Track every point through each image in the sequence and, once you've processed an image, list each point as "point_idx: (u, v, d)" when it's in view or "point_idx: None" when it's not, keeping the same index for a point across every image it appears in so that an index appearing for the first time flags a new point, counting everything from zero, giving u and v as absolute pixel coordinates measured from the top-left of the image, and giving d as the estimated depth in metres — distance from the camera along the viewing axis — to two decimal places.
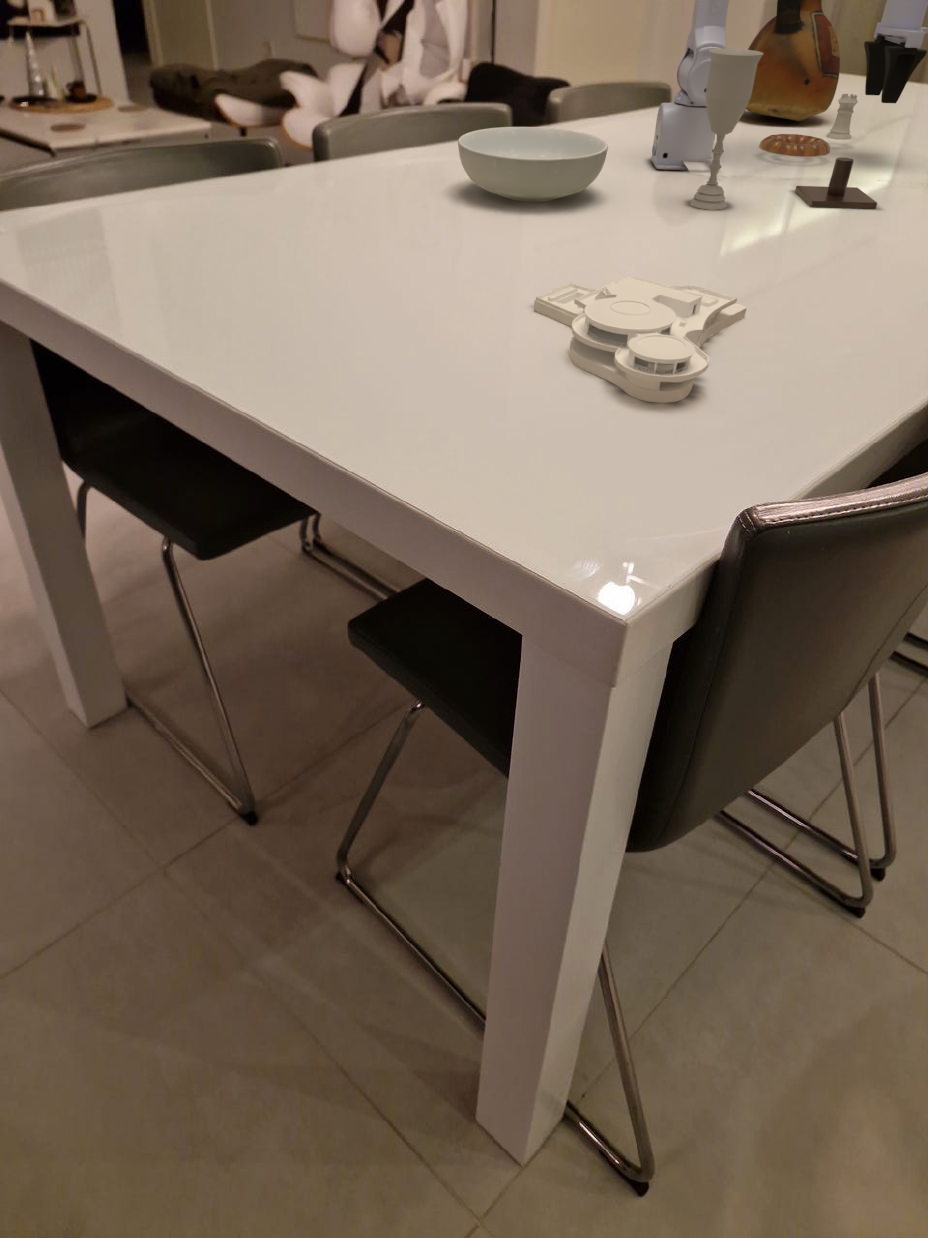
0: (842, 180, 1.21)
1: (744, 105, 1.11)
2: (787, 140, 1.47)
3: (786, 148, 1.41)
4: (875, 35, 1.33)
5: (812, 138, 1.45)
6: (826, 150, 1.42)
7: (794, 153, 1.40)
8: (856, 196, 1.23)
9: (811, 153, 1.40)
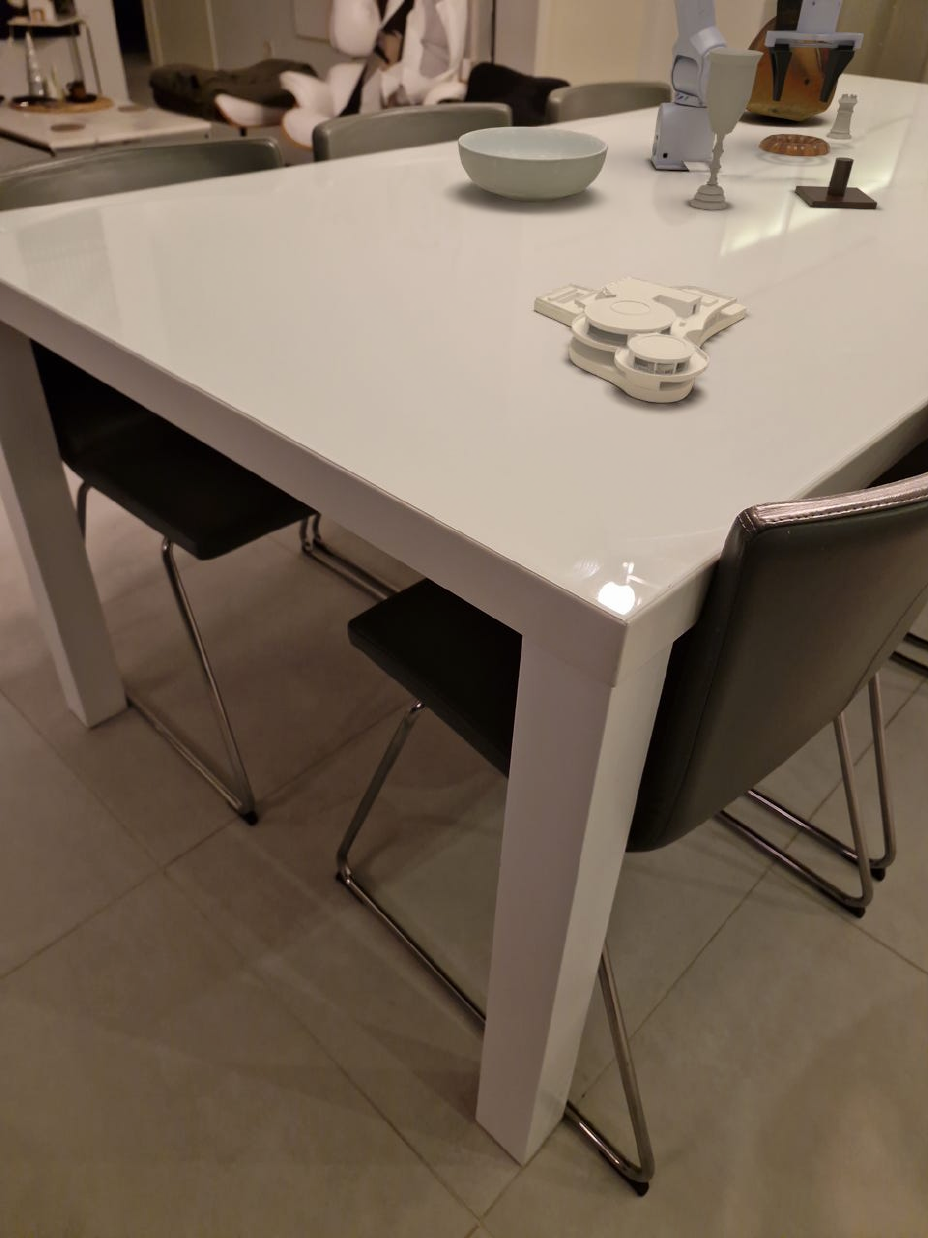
0: (842, 180, 1.21)
1: (744, 105, 1.11)
2: (787, 140, 1.47)
3: (786, 148, 1.41)
4: None
5: (812, 138, 1.45)
6: (826, 150, 1.42)
7: (794, 153, 1.40)
8: (856, 196, 1.23)
9: (811, 153, 1.40)
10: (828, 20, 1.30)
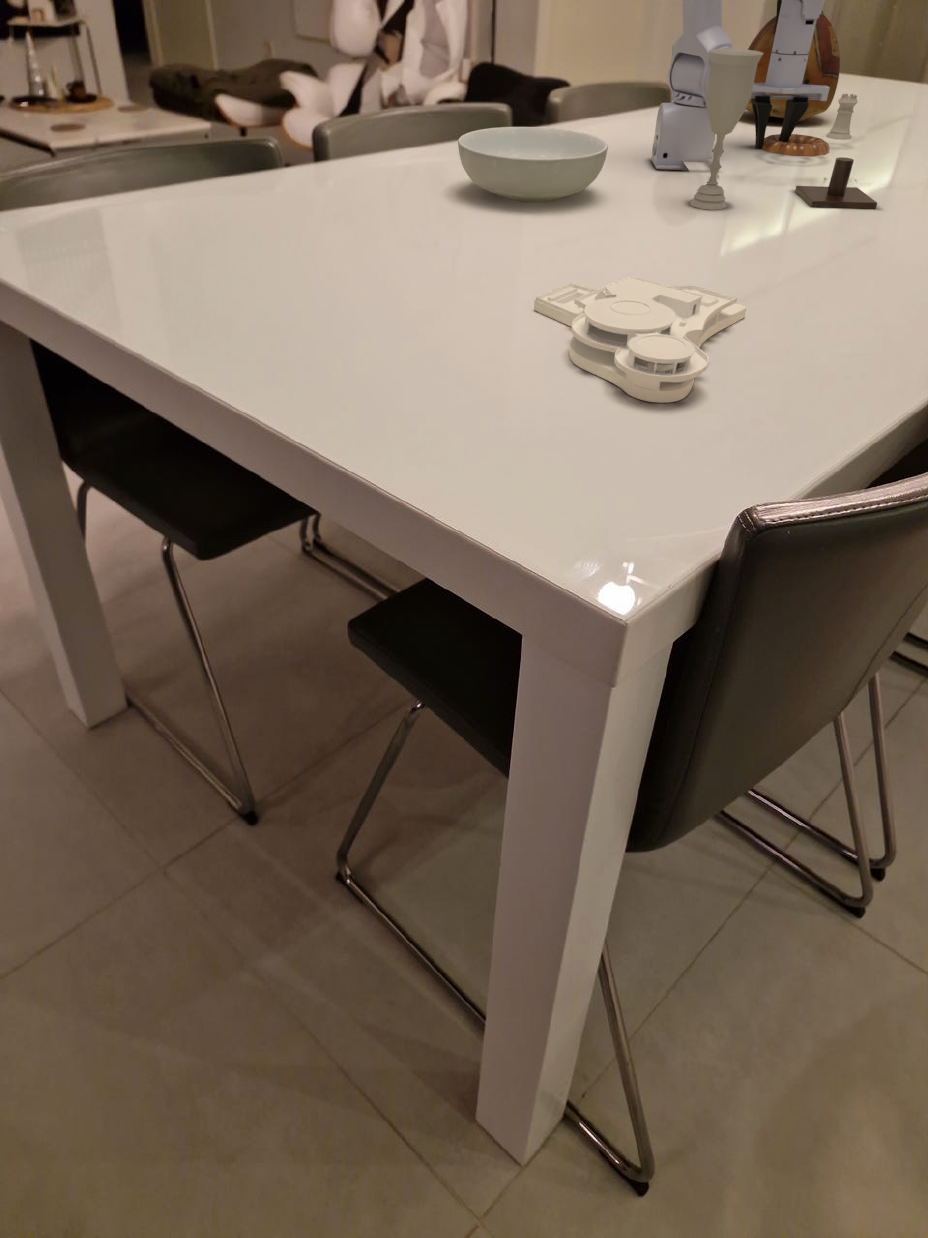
0: (842, 180, 1.21)
1: (744, 105, 1.11)
2: None
3: (786, 148, 1.41)
4: None
5: (812, 138, 1.45)
6: (826, 150, 1.42)
7: (794, 153, 1.40)
8: (856, 196, 1.23)
9: (810, 153, 1.40)
10: (794, 75, 1.36)
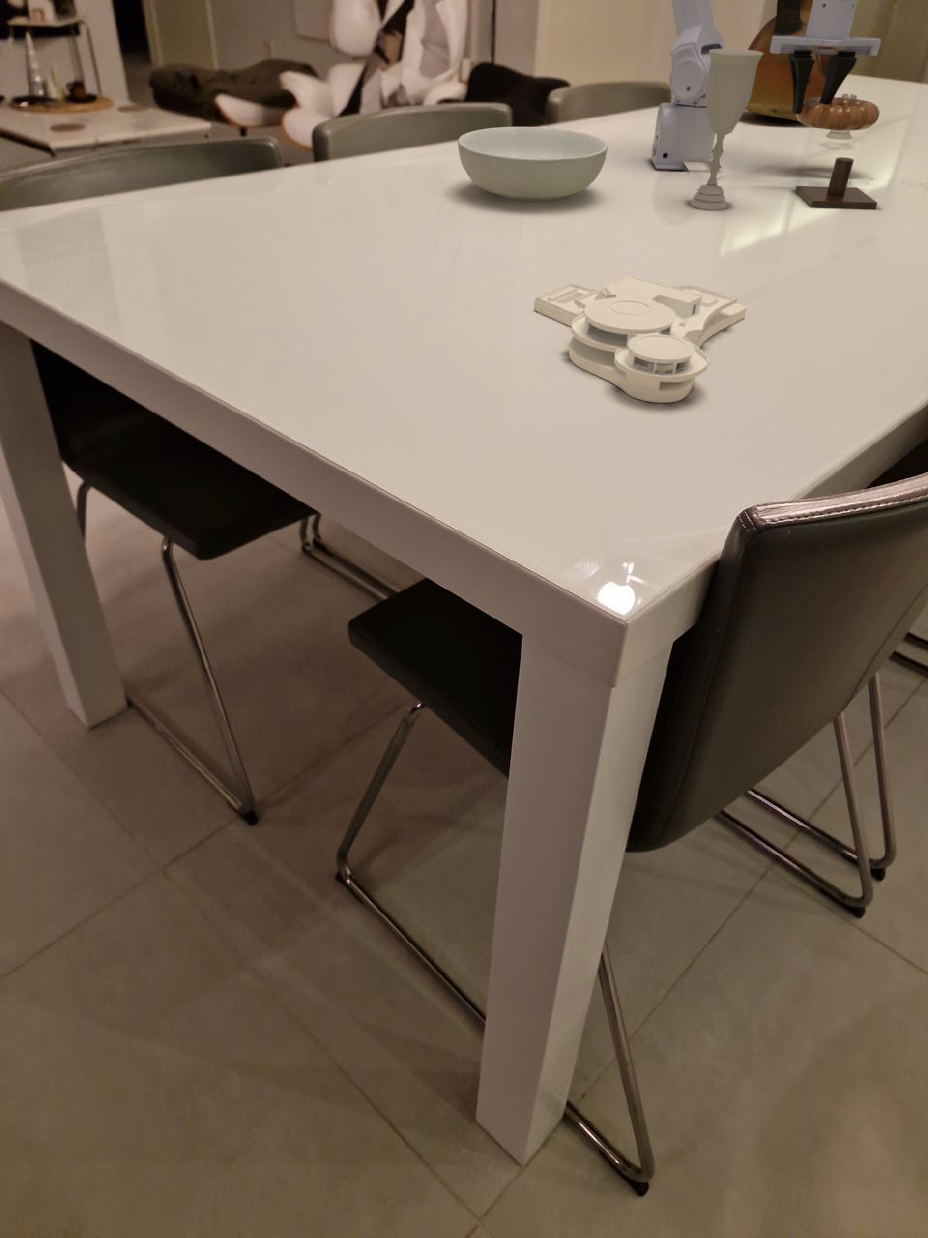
0: (842, 180, 1.21)
1: (744, 105, 1.11)
2: None
3: (829, 111, 1.21)
4: None
5: (858, 101, 1.25)
6: (875, 114, 1.22)
7: (839, 117, 1.21)
8: (856, 196, 1.23)
9: (858, 117, 1.21)
10: (841, 24, 1.16)
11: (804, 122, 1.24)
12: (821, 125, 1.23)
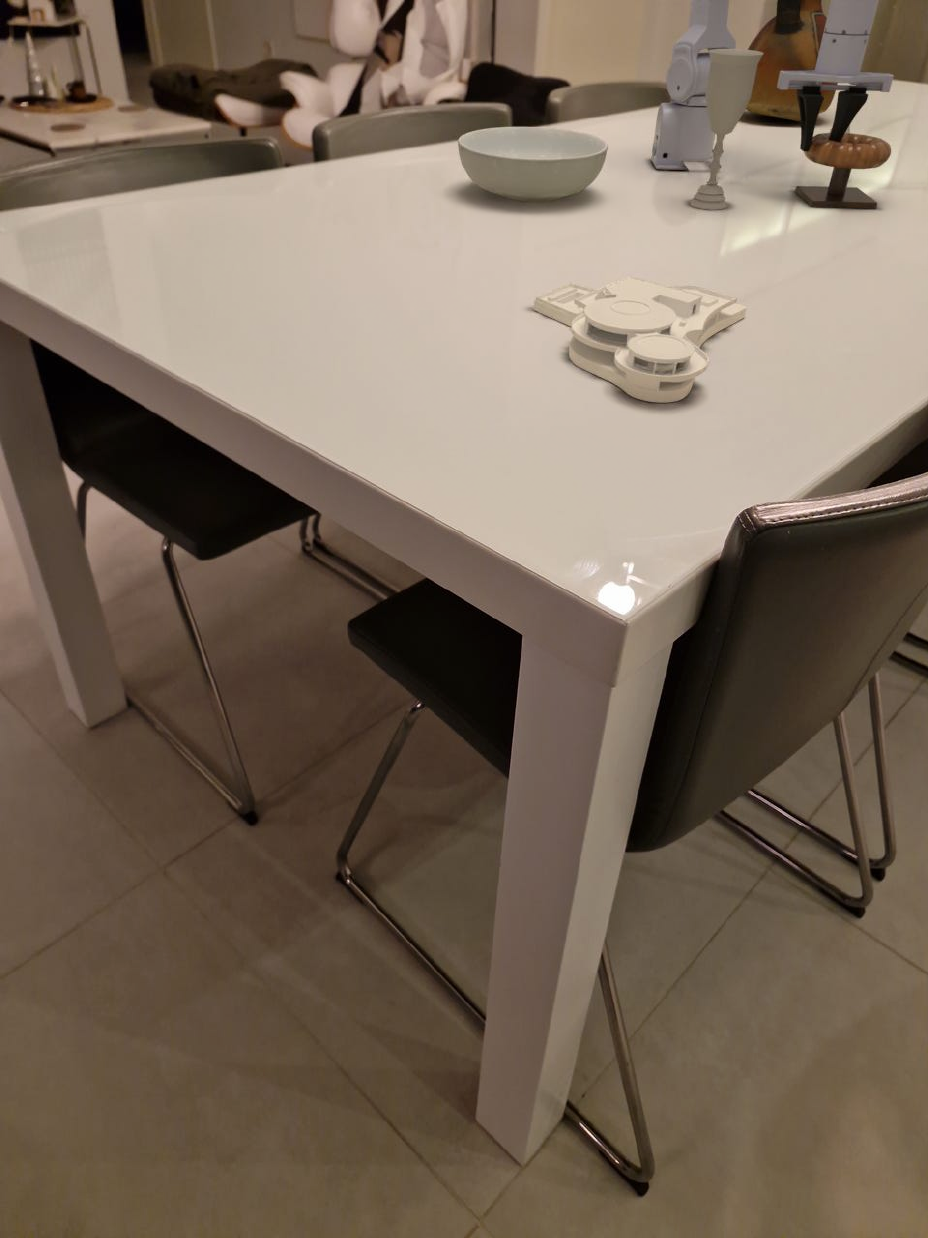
0: (842, 180, 1.21)
1: (744, 105, 1.11)
2: None
3: (839, 149, 1.16)
4: None
5: (869, 138, 1.20)
6: (887, 152, 1.17)
7: (849, 155, 1.16)
8: (856, 196, 1.23)
9: (869, 155, 1.15)
10: (852, 60, 1.11)
11: (813, 159, 1.19)
12: (830, 163, 1.17)
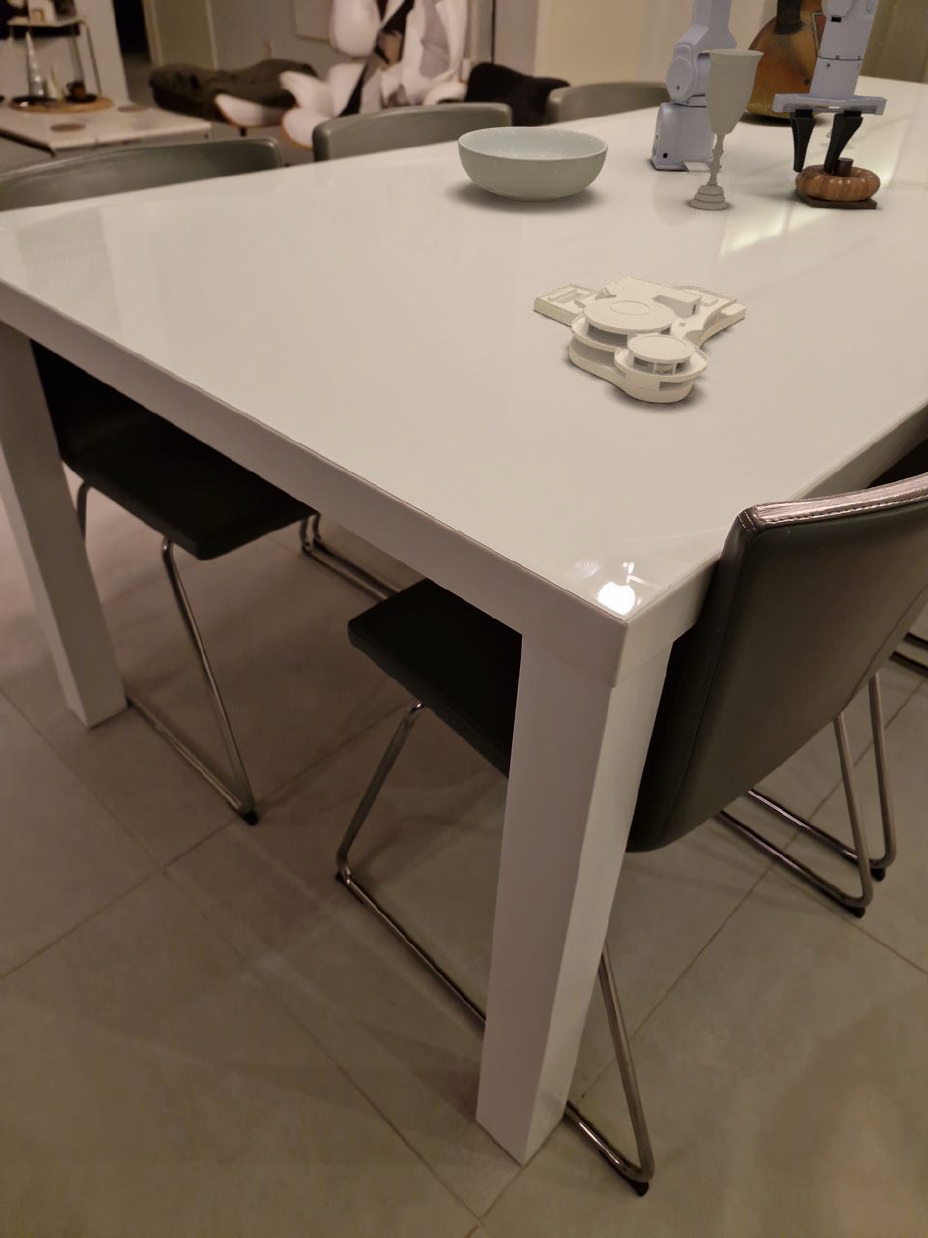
0: None
1: (744, 105, 1.11)
2: None
3: (829, 183, 1.19)
4: None
5: (859, 170, 1.23)
6: (876, 185, 1.19)
7: (839, 189, 1.18)
8: None
9: (859, 189, 1.18)
10: (846, 84, 1.13)
11: (803, 192, 1.22)
12: (821, 196, 1.20)
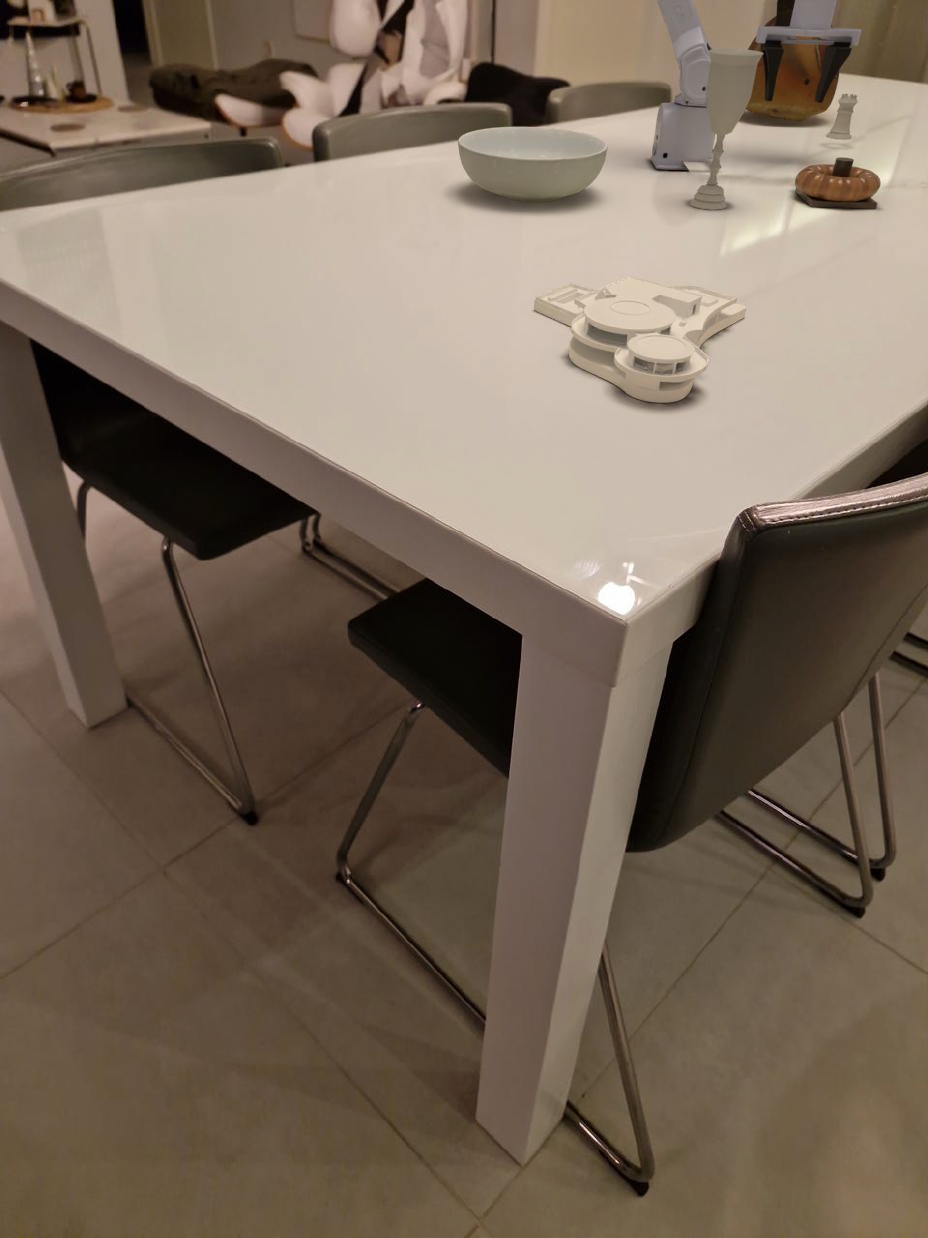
0: None
1: (744, 105, 1.11)
2: (829, 172, 1.24)
3: (829, 183, 1.19)
4: None
5: (859, 170, 1.23)
6: (876, 185, 1.19)
7: (839, 189, 1.18)
8: None
9: (859, 189, 1.18)
10: (823, 15, 1.22)
11: (803, 192, 1.22)
12: (821, 196, 1.20)
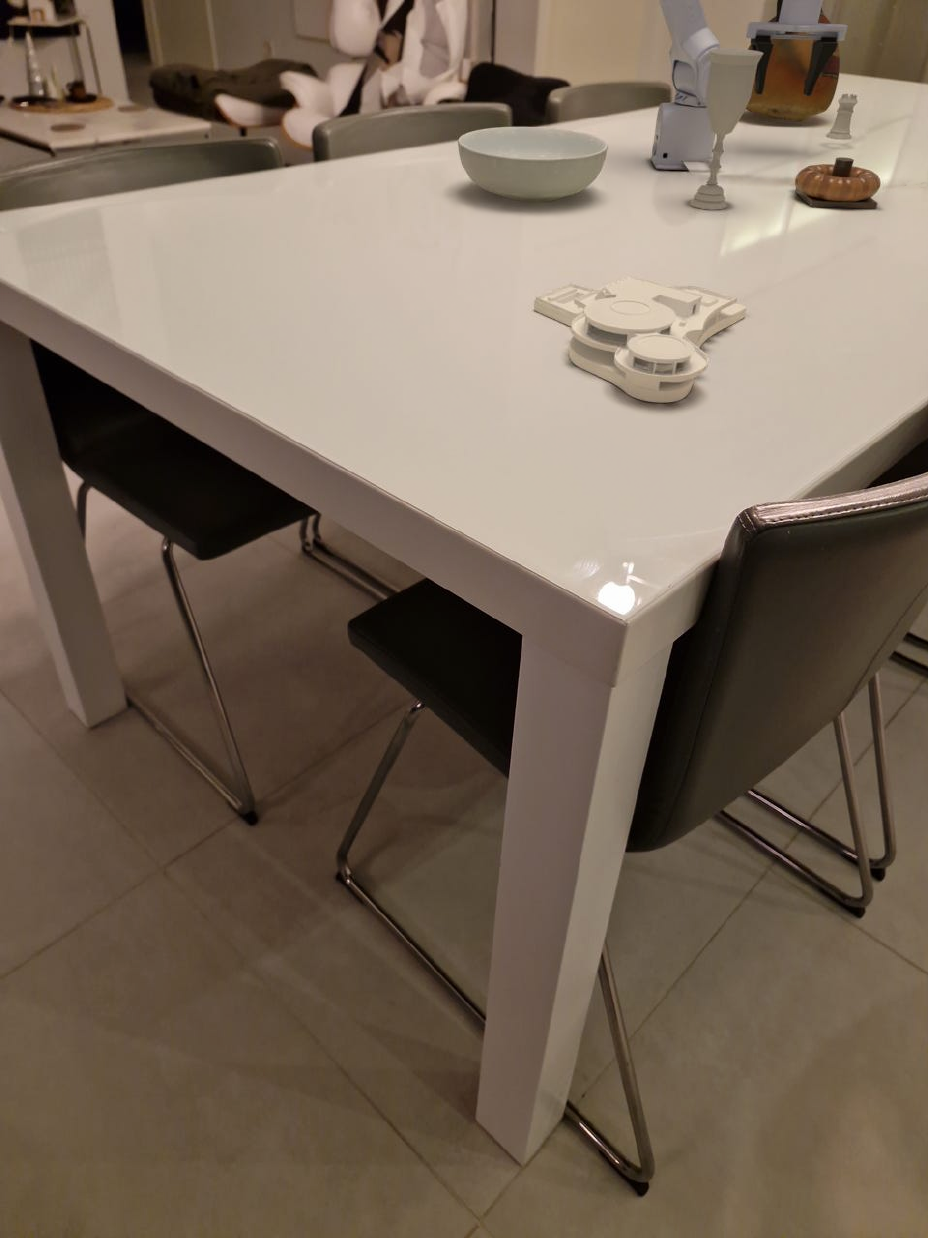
0: None
1: (744, 105, 1.11)
2: (829, 172, 1.24)
3: (829, 183, 1.19)
4: None
5: (859, 170, 1.23)
6: (876, 185, 1.19)
7: (839, 189, 1.18)
8: None
9: (859, 189, 1.18)
10: (810, 11, 1.27)
11: (803, 192, 1.22)
12: (821, 196, 1.20)
